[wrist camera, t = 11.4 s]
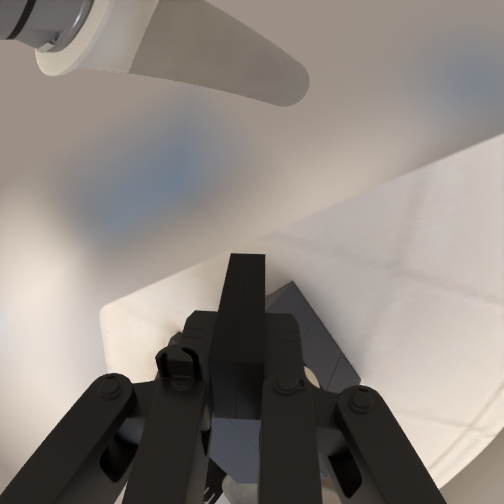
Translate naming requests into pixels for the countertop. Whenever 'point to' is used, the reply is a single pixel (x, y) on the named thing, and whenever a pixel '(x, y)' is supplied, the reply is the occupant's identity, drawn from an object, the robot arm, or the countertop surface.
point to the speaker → (315, 358)
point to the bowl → (246, 494)
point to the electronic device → (213, 483)
